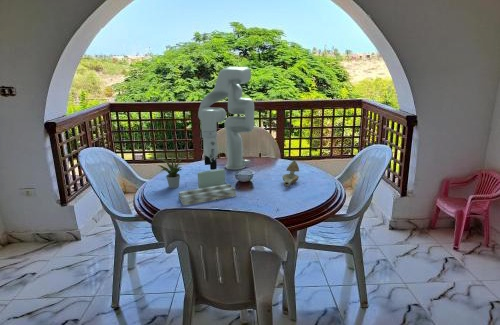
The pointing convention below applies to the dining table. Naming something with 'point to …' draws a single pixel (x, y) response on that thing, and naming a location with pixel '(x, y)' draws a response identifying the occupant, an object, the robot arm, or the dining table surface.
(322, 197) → the dining table surface
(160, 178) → the dining table surface
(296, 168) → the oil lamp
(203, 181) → the door panel
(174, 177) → the house plant
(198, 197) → the door track
